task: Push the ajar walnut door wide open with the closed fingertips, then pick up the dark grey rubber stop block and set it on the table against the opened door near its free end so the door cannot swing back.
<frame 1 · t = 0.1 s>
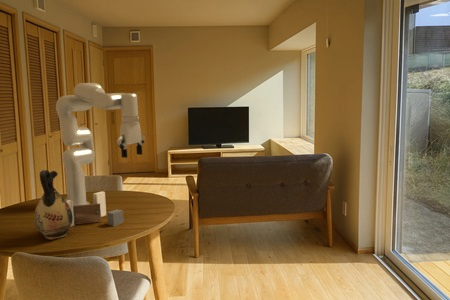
hand: (132, 155, 206), 31 cm above the table, fingers open, 9 cm apart
stop block: (115, 223, 204), on the table
door: (86, 214, 204), point 5 cm above the table, hinge at 40.0°
ceramic jug: (54, 237, 188), on the table
wall: (85, 221, 209), on the table
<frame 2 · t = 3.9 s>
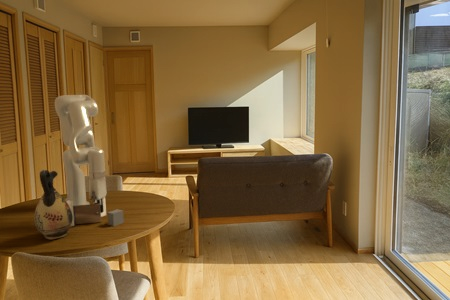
hand: (99, 212, 209), 4 cm above the table, fingers closed
door: (86, 214, 204), point 5 cm above the table, hinge at 42.7°, touching gripper
everything else where it was.
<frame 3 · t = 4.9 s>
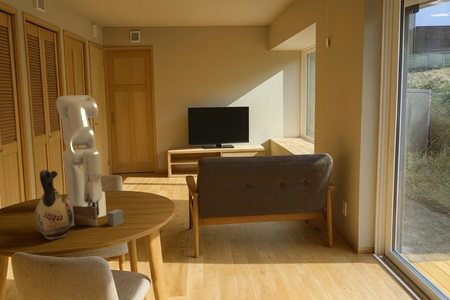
hand: (95, 215, 204), 4 cm above the table, fingers closed
door: (83, 216, 201), point 5 cm above the table, hinge at 71.8°, touching gripper
everything else where it was.
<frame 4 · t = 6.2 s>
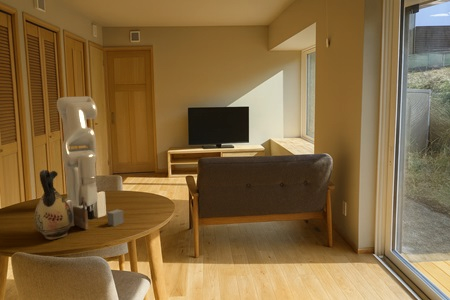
hand: (90, 218, 200), 4 cm above the table, fingers closed
door: (78, 217, 199), point 5 cm above the table, hinge at 99.7°, touching gripper
everything else where it was.
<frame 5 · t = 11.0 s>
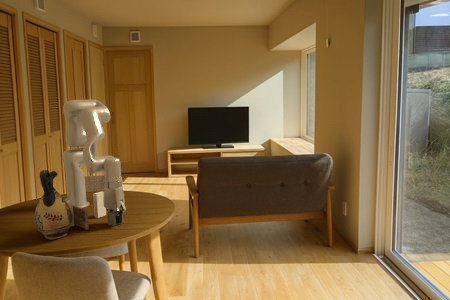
hand: (115, 222, 204), 1 cm above the table, fingers closed on stop block, 4 cm apart
stop block: (115, 223, 204), on the table, touching gripper
door: (78, 217, 199), point 5 cm above the table, hinge at 100.0°
everything else where it was.
when the fingers open (2 cm above the table, at t = 16.2 s): stop block drops 2 cm, on the table.
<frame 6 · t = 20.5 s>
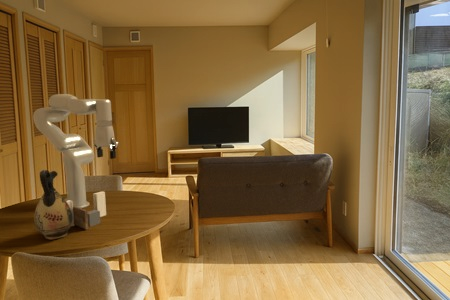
hand: (106, 157, 219), 28 cm above the table, fingers open, 9 cm apart
stop block: (92, 224, 204), on the table
everything else where it was.
at the end: door at +100° (first picture: +40°); stop block inside the target area (0.1 cm from its centre), on the table; the gripper is holding nothing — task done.
